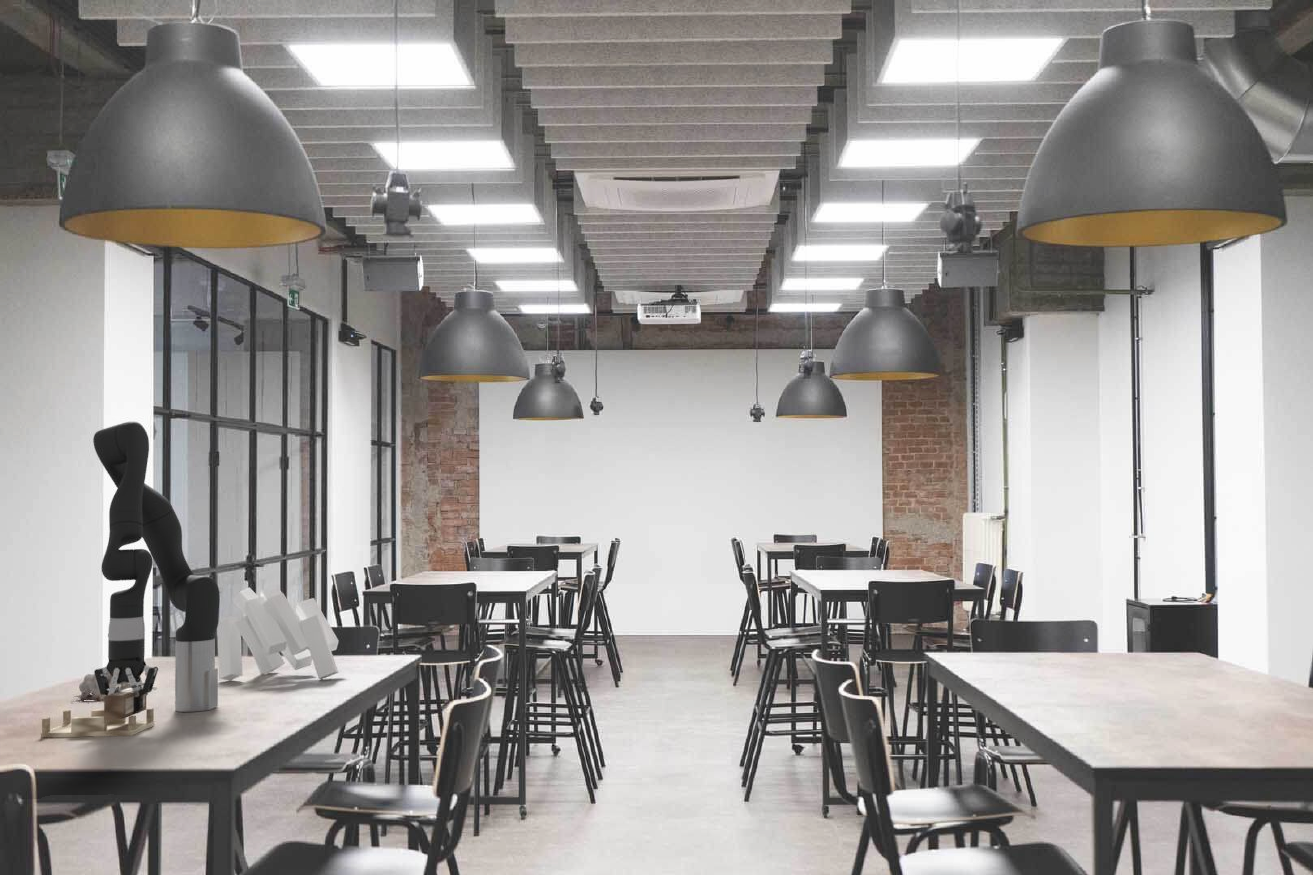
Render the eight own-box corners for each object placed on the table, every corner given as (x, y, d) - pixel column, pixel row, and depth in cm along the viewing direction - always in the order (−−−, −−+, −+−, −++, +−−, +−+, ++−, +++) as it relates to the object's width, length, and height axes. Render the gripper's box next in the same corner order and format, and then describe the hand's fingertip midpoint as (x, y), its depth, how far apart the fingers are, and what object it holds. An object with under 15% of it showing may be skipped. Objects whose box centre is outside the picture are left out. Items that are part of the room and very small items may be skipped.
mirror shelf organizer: (154, 725, 268) (154, 707, 268) (132, 735, 256) (132, 717, 256) (67, 727, 267) (67, 709, 267) (40, 737, 255) (41, 719, 256)
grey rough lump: (56, 673, 299) (104, 647, 329) (51, 712, 299) (100, 682, 329) (130, 682, 300) (172, 655, 330) (126, 721, 301) (167, 690, 331)
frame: (146, 709, 268) (147, 686, 268) (123, 718, 256) (123, 695, 256) (128, 709, 268) (128, 687, 268) (103, 719, 256) (104, 695, 256)
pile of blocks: (356, 687, 353) (328, 584, 367) (340, 661, 326) (311, 551, 340) (240, 726, 345) (216, 619, 359) (214, 702, 319) (190, 588, 332)
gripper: (164, 634, 267) (164, 709, 266) (102, 635, 267) (102, 710, 266) (151, 638, 259) (150, 715, 258) (87, 639, 259) (86, 716, 258)
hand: (125, 712), depth 262 cm, fingers closed on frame, 4 cm apart
